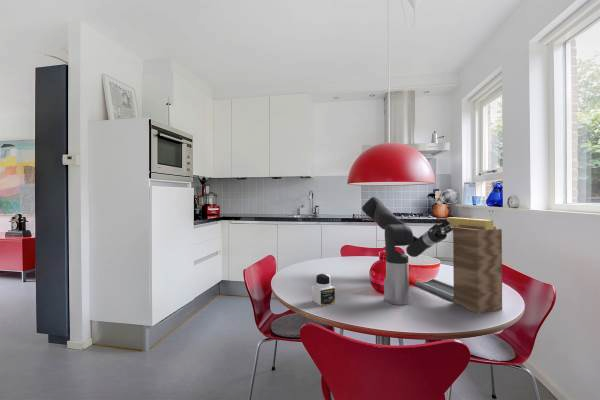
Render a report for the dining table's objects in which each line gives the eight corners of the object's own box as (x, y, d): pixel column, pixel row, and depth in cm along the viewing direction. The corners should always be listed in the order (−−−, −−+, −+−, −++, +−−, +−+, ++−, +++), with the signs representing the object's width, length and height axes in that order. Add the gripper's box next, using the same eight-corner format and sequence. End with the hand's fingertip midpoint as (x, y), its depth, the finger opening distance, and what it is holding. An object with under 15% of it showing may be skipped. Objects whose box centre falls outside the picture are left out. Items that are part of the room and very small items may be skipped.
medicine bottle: (320, 306, 119) (320, 277, 119) (312, 301, 125) (312, 273, 125) (335, 303, 122) (334, 275, 122) (326, 298, 128) (325, 271, 128)
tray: (452, 301, 123) (452, 295, 123) (415, 284, 147) (415, 280, 147) (473, 298, 126) (473, 293, 126) (433, 282, 150) (433, 278, 150)
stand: (478, 313, 110) (477, 227, 110) (453, 302, 122) (453, 225, 122) (502, 309, 114) (501, 226, 113) (476, 299, 125) (475, 224, 125)
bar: (486, 229, 111) (485, 220, 111) (447, 225, 131) (447, 217, 131) (493, 229, 112) (493, 220, 112) (453, 225, 132) (453, 217, 132)
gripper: (419, 229, 141) (440, 214, 128) (443, 228, 145) (465, 213, 131) (424, 243, 137) (446, 229, 124) (449, 242, 141) (473, 228, 128)
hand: (456, 221), depth 128 cm, fingers open, 8 cm apart
